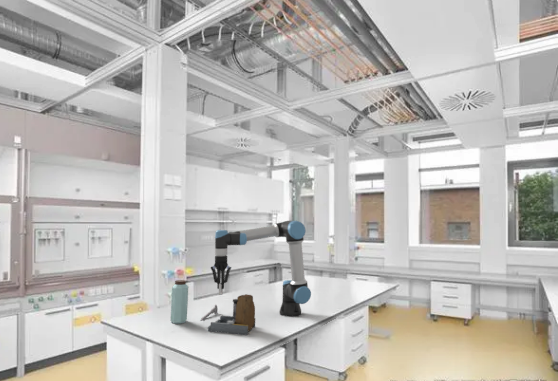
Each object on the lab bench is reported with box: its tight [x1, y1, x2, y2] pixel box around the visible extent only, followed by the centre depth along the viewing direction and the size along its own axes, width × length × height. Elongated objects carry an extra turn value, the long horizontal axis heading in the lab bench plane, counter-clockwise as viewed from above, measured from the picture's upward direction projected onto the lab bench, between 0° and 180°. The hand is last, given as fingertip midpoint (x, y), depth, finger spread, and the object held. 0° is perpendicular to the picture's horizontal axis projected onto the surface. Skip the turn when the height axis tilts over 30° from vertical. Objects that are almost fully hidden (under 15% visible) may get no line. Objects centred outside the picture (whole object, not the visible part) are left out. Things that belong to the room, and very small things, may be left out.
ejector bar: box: [227, 298, 238, 324], centre depth 215 cm, size 4×18×17 cm, turn 168°
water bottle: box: [170, 279, 189, 325], centre depth 227 cm, size 10×10×25 cm
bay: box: [207, 314, 256, 336], centre depth 215 cm, size 23×16×5 cm
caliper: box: [200, 304, 219, 321], centre depth 240 cm, size 20×1×6 cm, turn 161°
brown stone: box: [235, 293, 256, 332], centre depth 214 cm, size 11×8×20 cm
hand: (220, 294), depth 223 cm, fingers closed
